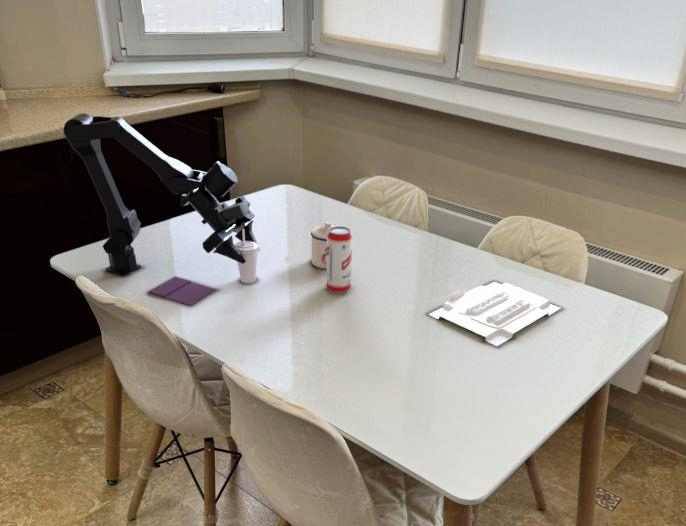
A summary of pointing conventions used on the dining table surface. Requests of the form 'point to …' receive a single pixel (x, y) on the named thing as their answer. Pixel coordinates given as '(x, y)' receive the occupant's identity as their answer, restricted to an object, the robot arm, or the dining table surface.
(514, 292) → the tray
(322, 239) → the teacup with lid
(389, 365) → the dining table surface
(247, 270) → the smoothie
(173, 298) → the dish cloth
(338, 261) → the beer can
